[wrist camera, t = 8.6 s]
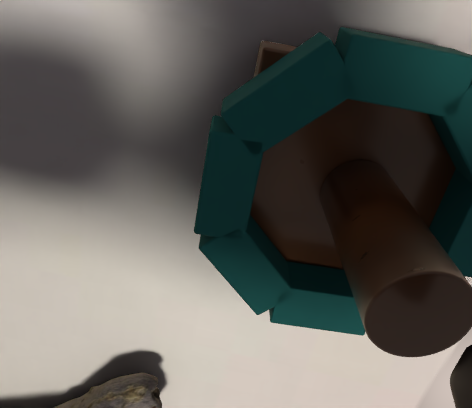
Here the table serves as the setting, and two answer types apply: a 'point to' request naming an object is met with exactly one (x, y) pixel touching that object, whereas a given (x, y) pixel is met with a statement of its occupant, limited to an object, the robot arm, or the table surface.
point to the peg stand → (368, 216)
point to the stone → (121, 394)
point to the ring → (296, 117)
